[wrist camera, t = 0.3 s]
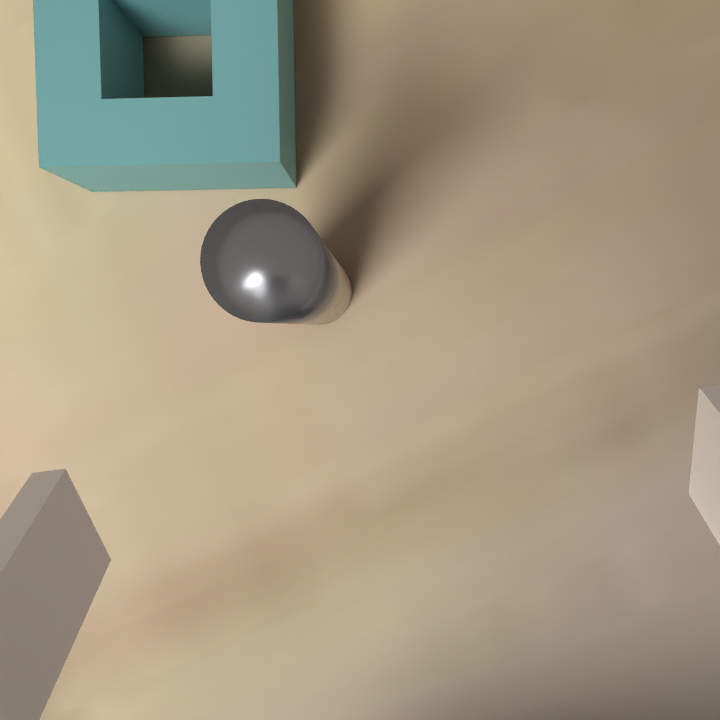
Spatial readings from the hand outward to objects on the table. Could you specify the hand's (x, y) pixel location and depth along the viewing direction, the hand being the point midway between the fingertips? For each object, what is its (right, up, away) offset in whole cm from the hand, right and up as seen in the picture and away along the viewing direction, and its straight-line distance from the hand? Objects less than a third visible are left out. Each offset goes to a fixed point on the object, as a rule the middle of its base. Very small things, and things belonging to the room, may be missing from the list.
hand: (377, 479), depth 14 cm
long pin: (-2, +6, +18) cm, 19 cm away
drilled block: (-8, +16, +18) cm, 25 cm away
